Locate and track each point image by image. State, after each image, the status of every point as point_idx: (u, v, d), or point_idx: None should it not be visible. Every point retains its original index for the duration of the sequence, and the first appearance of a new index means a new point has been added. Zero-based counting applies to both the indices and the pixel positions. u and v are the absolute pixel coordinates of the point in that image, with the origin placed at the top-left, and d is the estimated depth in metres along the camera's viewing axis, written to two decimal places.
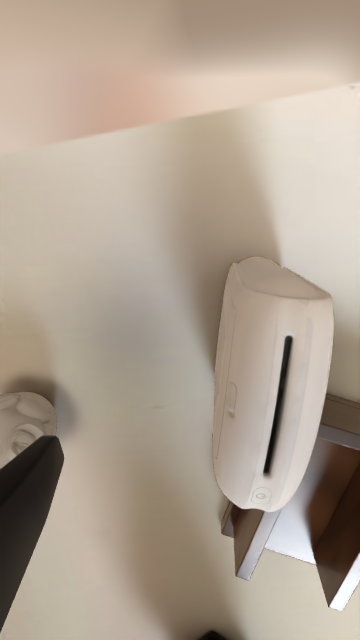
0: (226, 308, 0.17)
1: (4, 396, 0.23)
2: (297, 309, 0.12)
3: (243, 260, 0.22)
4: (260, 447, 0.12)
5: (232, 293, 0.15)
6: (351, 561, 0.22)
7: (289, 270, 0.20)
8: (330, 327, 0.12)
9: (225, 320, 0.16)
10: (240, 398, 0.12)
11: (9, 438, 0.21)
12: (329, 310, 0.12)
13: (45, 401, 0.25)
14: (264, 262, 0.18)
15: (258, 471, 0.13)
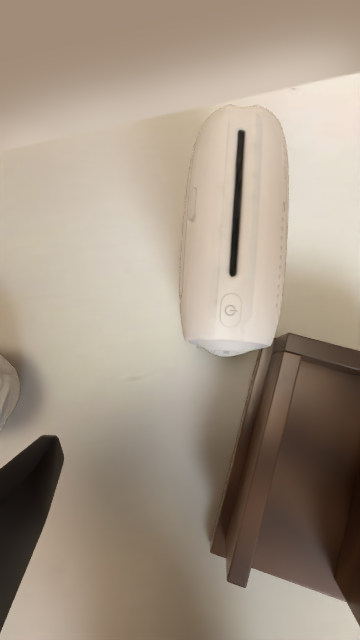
0: None
1: None
2: (247, 111, 0.13)
3: None
4: (222, 230, 0.12)
5: None
6: None
7: None
8: (281, 134, 0.13)
9: None
10: (200, 193, 0.12)
11: None
12: (278, 123, 0.13)
13: (10, 365, 0.23)
14: None
15: (222, 265, 0.12)
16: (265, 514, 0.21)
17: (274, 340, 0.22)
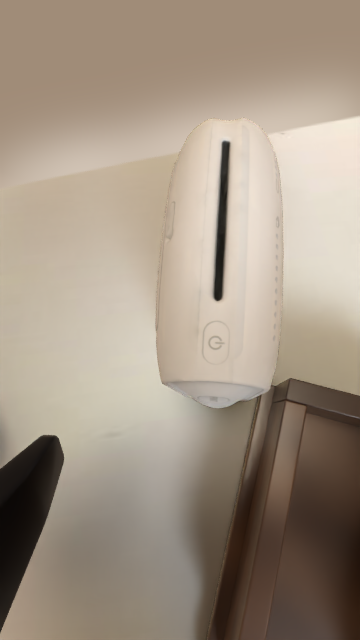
0: None
1: None
2: (232, 123, 0.12)
3: None
4: (204, 245, 0.10)
5: None
6: None
7: None
8: (271, 148, 0.12)
9: None
10: (178, 206, 0.11)
11: None
12: (267, 138, 0.12)
13: None
14: None
15: (205, 286, 0.09)
16: (271, 615, 0.16)
17: (273, 388, 0.19)
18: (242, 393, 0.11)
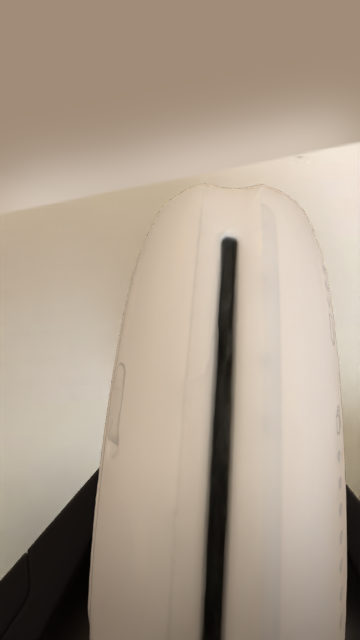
0: None
1: None
2: (241, 197, 0.06)
3: None
4: (179, 527, 0.04)
5: None
6: None
7: None
8: (315, 243, 0.06)
9: None
10: (130, 387, 0.05)
11: None
12: (306, 219, 0.06)
13: None
14: None
15: (180, 638, 0.04)
16: None
17: None
18: None
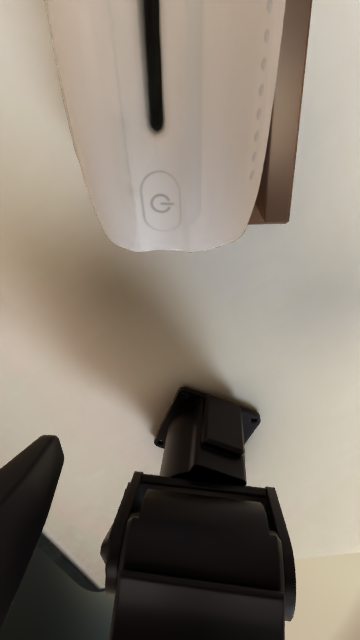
0: None
1: None
2: None
3: None
4: (112, 7, 0.05)
5: None
6: None
7: None
8: None
9: None
10: None
11: None
12: None
13: None
14: None
15: (130, 110, 0.05)
16: None
17: None
18: None
